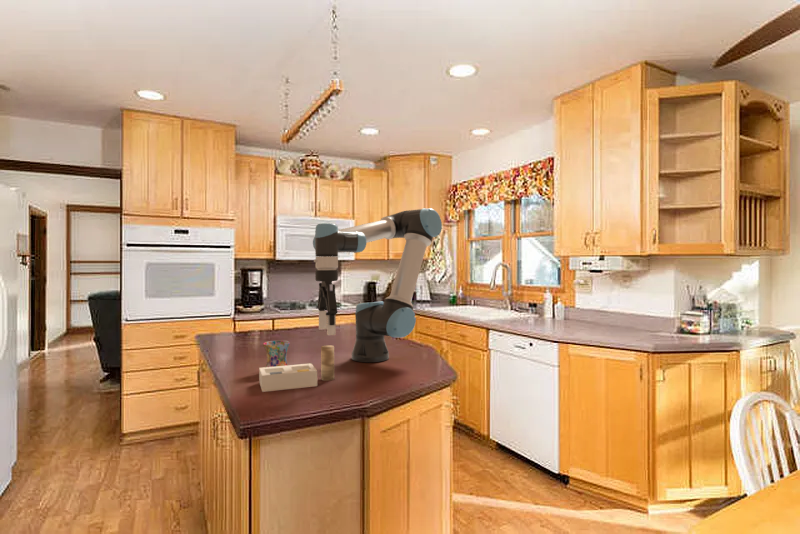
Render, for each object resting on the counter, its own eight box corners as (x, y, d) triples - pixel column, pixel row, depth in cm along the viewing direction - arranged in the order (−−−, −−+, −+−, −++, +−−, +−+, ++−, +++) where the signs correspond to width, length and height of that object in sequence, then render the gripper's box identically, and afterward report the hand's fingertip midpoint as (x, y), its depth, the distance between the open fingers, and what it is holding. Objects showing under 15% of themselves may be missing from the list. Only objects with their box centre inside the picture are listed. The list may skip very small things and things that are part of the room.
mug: (291, 373, 163) (291, 344, 163) (264, 376, 159) (264, 345, 159) (287, 366, 174) (287, 338, 174) (261, 368, 171) (261, 340, 170)
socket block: (311, 377, 157) (311, 362, 157) (317, 386, 147) (317, 369, 146) (259, 382, 151) (259, 367, 151) (262, 391, 140) (261, 375, 140)
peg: (332, 376, 158) (332, 345, 158) (335, 379, 154) (335, 347, 154) (320, 378, 157) (319, 346, 156) (322, 381, 153) (322, 348, 152)
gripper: (309, 269, 165) (309, 327, 165) (323, 270, 142) (323, 338, 142) (329, 268, 168) (329, 326, 168) (346, 269, 145) (347, 336, 145)
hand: (326, 332), depth 155 cm, fingers open, 13 cm apart
